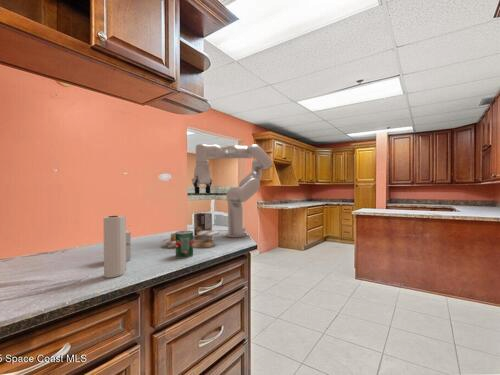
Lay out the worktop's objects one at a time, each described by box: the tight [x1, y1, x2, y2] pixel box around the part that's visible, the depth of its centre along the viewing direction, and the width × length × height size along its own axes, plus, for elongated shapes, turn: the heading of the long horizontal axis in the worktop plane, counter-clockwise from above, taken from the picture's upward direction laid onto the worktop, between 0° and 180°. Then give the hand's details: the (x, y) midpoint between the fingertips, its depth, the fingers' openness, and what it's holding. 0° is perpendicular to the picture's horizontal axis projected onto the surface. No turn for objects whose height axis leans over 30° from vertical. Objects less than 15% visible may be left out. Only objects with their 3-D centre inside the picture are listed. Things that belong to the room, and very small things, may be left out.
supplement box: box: [126, 230, 132, 262], centre depth 106 cm, size 7×7×13 cm
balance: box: [162, 229, 220, 249], centre depth 134 cm, size 30×12×7 cm, turn 94°
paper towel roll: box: [103, 215, 127, 279], centre depth 89 cm, size 7×6×21 cm
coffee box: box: [193, 212, 213, 240], centre depth 148 cm, size 9×6×16 cm
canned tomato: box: [175, 230, 194, 259], centre depth 113 cm, size 8×8×11 cm
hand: (202, 193), depth 147 cm, fingers open, 9 cm apart
